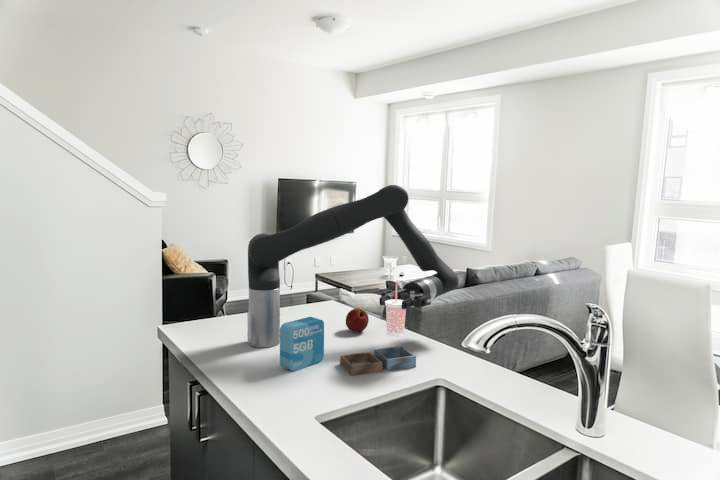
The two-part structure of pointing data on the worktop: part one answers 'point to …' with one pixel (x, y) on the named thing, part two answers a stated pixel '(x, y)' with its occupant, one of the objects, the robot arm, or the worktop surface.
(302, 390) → the worktop surface
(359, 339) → the worktop surface
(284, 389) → the worktop surface
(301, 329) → the data package
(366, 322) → the apple
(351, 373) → the cup dock
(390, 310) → the beverage cup
